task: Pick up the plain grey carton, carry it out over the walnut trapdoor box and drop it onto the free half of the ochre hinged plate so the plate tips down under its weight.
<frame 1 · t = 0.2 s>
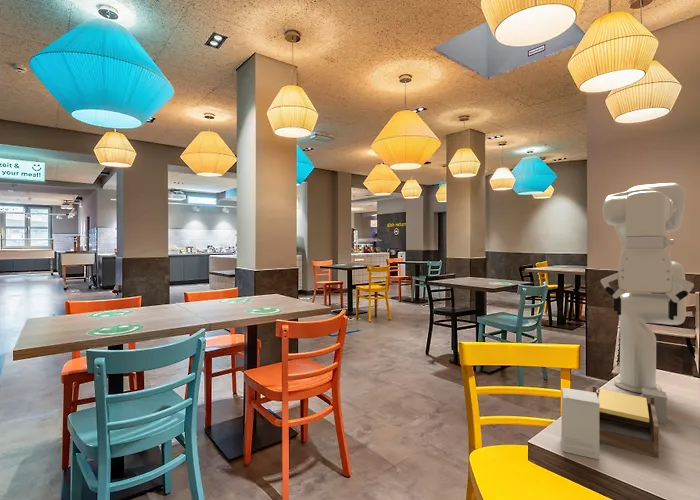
hand: (644, 316, 88), 31 cm above the table, fingers open, 9 cm apart
plain grey carton: (653, 418, 103), on the table
trapdoor frame: (622, 433, 94), on the table
supplement box: (579, 449, 87), on the table
trapdoor: (622, 404, 94), point 7 cm above the table, hinge at 0.0°
ceramic fragment: (646, 405, 112), on the table
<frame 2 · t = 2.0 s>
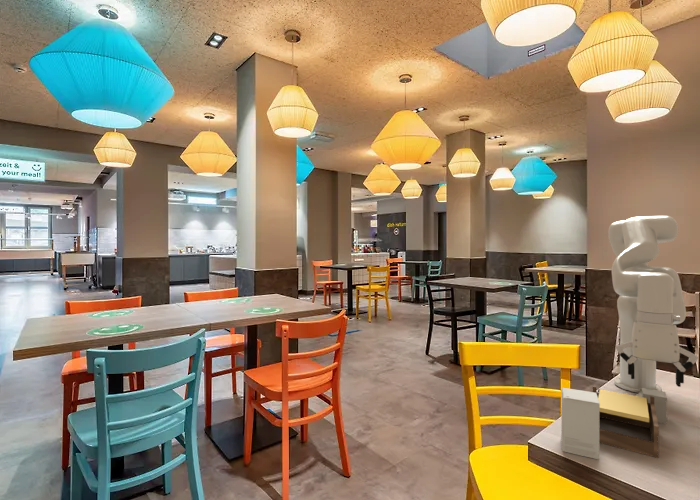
hand: (654, 381, 102), 10 cm above the table, fingers open, 9 cm apart
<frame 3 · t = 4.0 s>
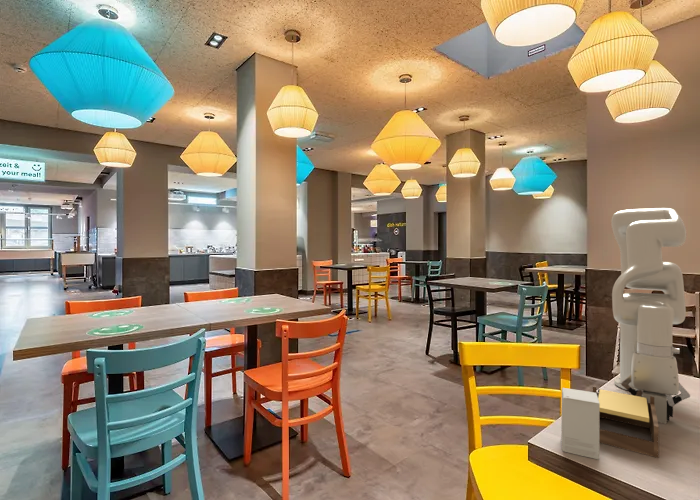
hand: (653, 415, 102), 1 cm above the table, fingers closed on plain grey carton, 5 cm apart
plain grey carton: (653, 417, 102), on the table, touching gripper
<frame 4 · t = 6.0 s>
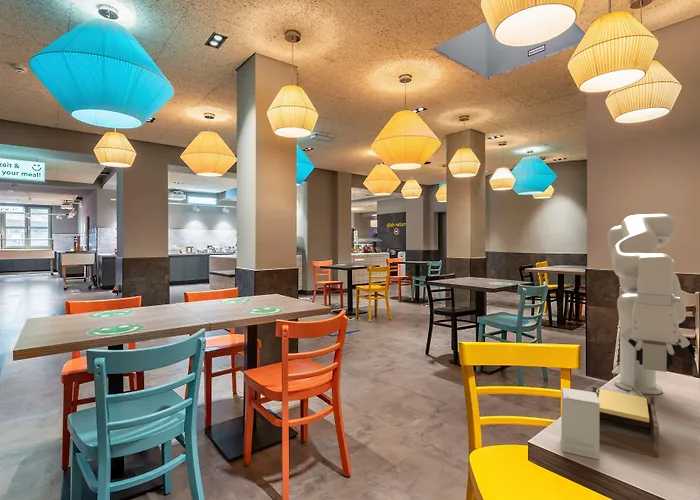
hand: (653, 364, 103), 14 cm above the table, fingers closed on plain grey carton, 5 cm apart
plain grey carton: (653, 367, 103), point 14 cm above the table, touching gripper
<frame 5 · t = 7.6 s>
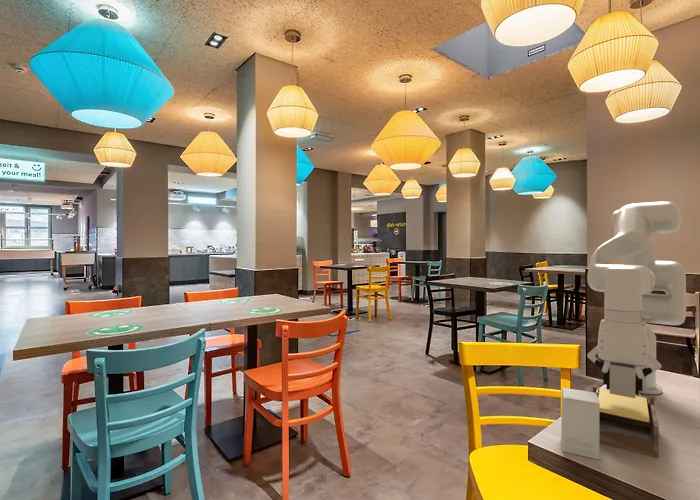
hand: (622, 389, 92), 12 cm above the table, fingers closed on plain grey carton, 5 cm apart
plain grey carton: (622, 392, 92), point 11 cm above the table, touching gripper
when the fingers open (11 cm above the table, at t = 8.3 s): plain grey carton drops 7 cm and tips over, resting on trapdoor.
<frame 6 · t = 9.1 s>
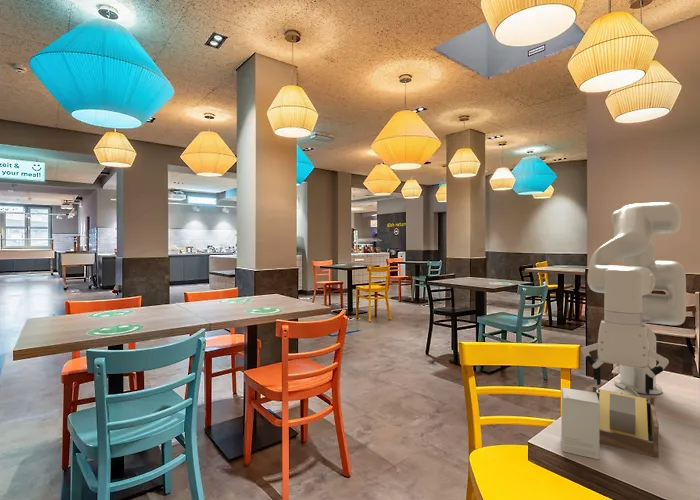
hand: (622, 387, 92), 12 cm above the table, fingers open, 9 cm apart
plain grey carton: (622, 423, 93), point 3 cm above the table, tilted 30°, touching trapdoor
trapdoor: (622, 416, 95), point 4 cm above the table, hinge at -30.5°, touching plain grey carton
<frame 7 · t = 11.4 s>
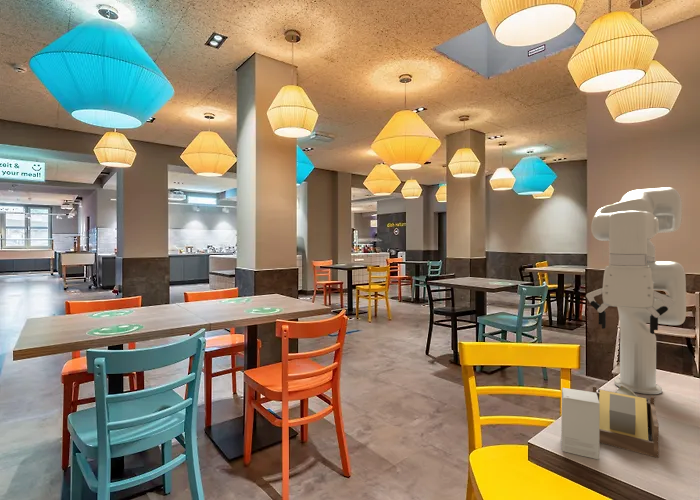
hand: (627, 330, 92), 26 cm above the table, fingers open, 9 cm apart
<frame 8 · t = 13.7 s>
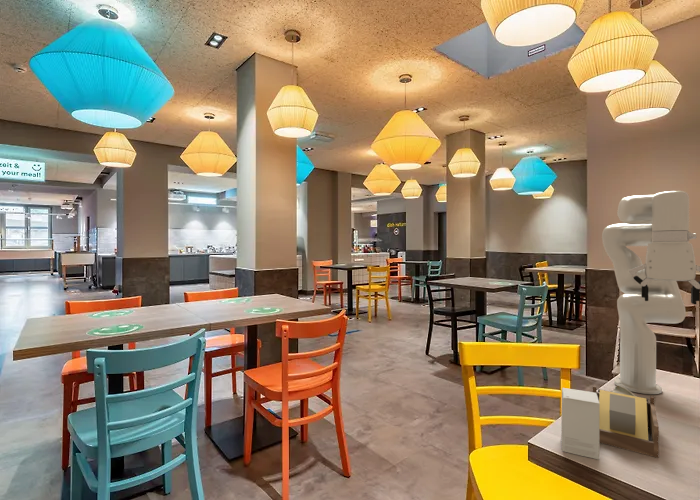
hand: (669, 302, 100), 32 cm above the table, fingers open, 9 cm apart
at the end: plain grey carton point 3.2 cm above the table; plain grey carton inside the target area (1.3 cm from its centre), point 3.2 cm above the table; trapdoor at -30° (first picture: +0°) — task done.
